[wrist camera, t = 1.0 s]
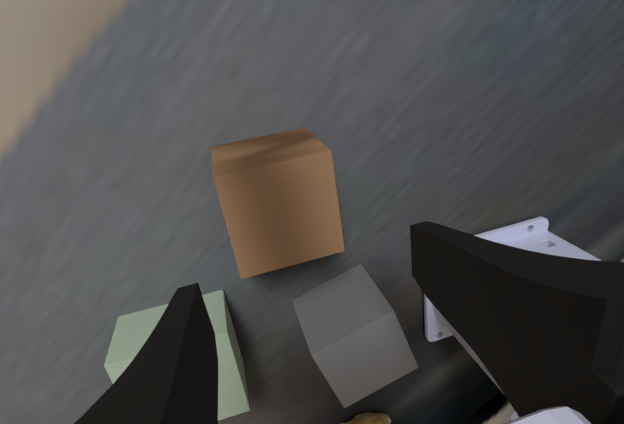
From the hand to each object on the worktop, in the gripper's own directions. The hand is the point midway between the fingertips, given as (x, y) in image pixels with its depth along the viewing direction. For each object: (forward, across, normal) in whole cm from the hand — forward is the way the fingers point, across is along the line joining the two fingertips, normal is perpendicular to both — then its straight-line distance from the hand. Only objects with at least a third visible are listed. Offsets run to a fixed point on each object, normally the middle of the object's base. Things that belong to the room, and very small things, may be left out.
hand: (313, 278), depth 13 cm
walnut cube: (+10, 0, 0) cm, 10 cm away
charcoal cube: (+10, -3, +10) cm, 14 cm away
